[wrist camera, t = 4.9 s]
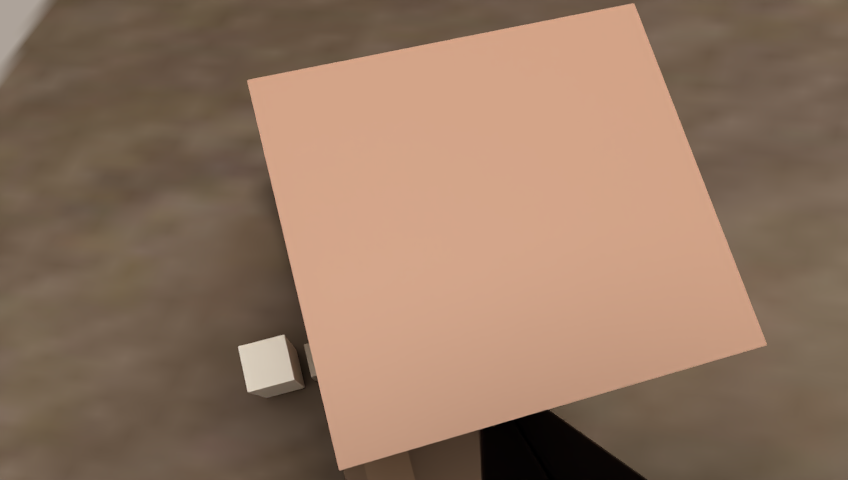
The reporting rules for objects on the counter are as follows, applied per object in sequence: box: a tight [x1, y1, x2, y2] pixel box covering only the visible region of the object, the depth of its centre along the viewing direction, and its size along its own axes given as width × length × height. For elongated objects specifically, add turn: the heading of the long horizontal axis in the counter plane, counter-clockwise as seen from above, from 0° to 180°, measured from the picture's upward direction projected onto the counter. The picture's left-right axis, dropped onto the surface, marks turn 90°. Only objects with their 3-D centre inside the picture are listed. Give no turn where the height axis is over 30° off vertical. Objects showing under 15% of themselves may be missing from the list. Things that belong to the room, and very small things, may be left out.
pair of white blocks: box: [238, 335, 305, 398], centre depth 17 cm, size 1×8×3 cm, turn 105°
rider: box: [247, 3, 767, 471], centre depth 12 cm, size 4×4×10 cm
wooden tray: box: [304, 343, 481, 480], centre depth 16 cm, size 16×6×3 cm, turn 16°
